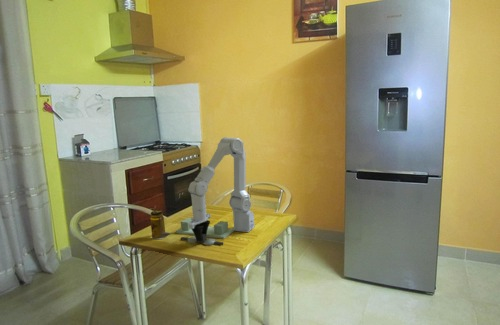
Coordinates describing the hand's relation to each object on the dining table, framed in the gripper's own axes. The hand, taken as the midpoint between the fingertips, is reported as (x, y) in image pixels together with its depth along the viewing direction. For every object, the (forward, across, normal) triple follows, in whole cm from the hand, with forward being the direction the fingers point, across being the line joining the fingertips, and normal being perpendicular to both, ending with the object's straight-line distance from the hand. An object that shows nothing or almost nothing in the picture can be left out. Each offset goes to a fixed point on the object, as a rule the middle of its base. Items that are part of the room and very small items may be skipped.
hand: (201, 238), depth 144 cm
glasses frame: (+1, 0, 0) cm, 1 cm away
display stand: (+1, -11, -5) cm, 12 cm away
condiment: (+2, -1, -23) cm, 23 cm away
